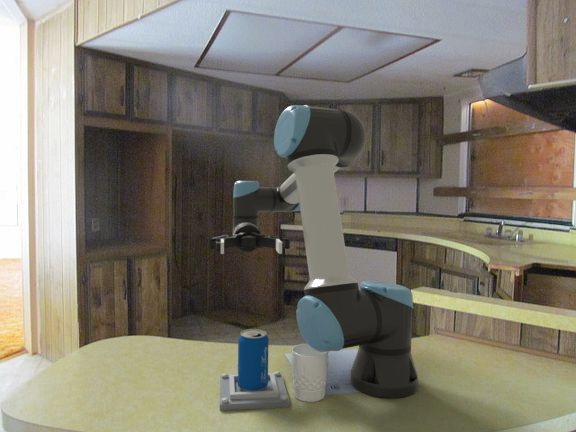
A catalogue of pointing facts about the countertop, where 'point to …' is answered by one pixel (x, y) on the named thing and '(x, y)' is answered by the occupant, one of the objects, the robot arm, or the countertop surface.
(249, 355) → the beverage can
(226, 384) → the socket plate
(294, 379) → the white cup
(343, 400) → the countertop surface
